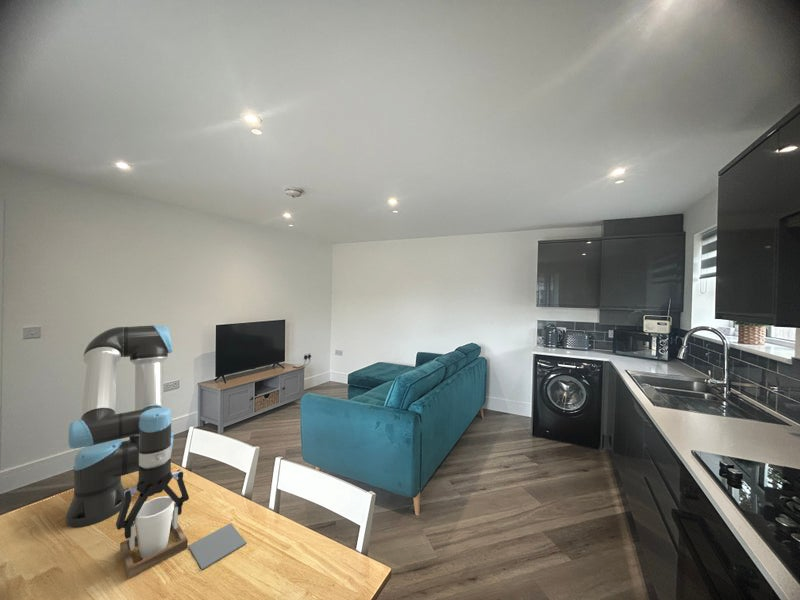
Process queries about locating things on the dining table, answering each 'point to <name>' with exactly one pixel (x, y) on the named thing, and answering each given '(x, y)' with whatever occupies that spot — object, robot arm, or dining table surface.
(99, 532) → the dining table surface
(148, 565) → the frame
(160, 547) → the foam cup
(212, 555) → the mat
